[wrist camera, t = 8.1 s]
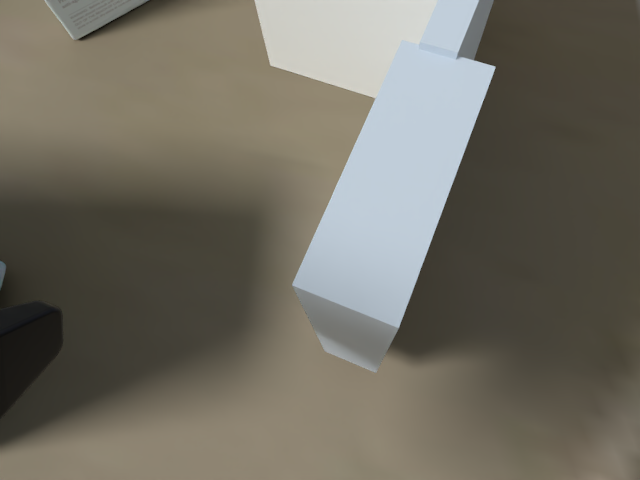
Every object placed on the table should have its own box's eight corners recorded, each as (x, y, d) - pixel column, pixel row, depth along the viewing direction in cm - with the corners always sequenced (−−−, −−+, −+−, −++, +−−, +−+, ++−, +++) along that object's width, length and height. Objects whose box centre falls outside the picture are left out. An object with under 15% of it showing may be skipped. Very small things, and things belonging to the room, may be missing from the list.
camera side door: (375, 374, 19) (399, 326, 8) (325, 353, 19) (290, 282, 9) (488, 73, 23) (600, -213, 12) (445, 61, 23) (519, -227, 13)
